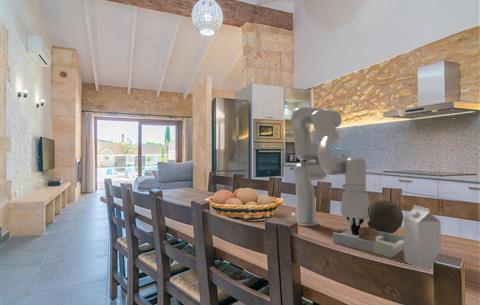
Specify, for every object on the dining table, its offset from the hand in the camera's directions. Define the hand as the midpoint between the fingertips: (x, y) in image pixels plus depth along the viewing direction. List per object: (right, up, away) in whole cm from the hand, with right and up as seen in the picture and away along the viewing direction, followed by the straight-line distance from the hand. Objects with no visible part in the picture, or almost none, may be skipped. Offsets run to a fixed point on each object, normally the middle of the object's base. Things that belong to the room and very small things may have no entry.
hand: (355, 234), depth 107 cm
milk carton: (+12, -4, -21) cm, 25 cm away
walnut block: (+3, -1, -3) cm, 5 cm away
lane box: (+5, -4, -1) cm, 6 cm away
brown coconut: (+18, -4, +12) cm, 22 cm away
